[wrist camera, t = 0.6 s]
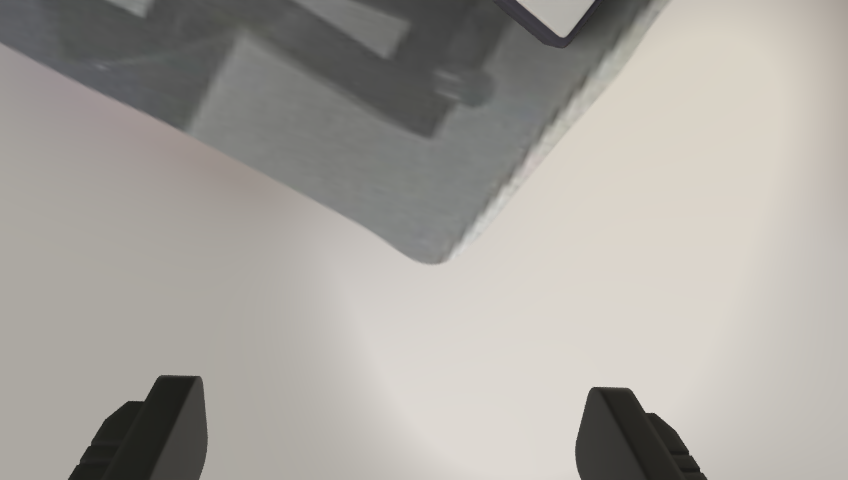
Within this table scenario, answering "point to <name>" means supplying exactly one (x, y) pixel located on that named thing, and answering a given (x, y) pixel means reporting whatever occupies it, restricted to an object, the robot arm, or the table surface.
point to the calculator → (551, 17)
